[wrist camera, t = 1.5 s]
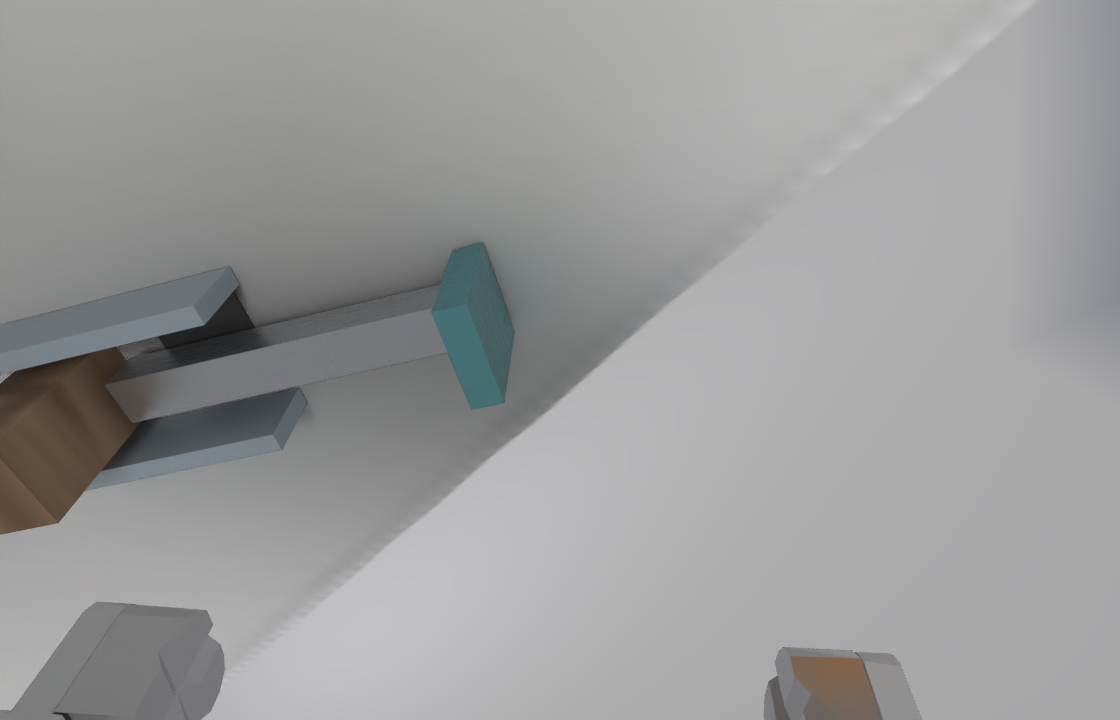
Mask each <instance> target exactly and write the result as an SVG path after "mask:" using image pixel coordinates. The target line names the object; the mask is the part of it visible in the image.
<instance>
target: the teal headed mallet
mask: <svg viewBox="0 0 1120 720" xmlns="http://www.w3.org/2000/svg"><path fill="white" fill-rule="evenodd" d="M513 338H514V329H513V326H512V323H511V321H510V318H509V315H508V312H507V309H506V306H505V304H504V301H503V298H502V295H501V292H500V289H499V287H498V284H497V281H496V278H495V275H494V273H493V270H492V267H491V264H490V261H489V258H488V256H487V253H486V250H485V247H484V244H483V243H479V244H475V245H471V246H467V247H463V248H459V249H455V250H453V251H452V253H451V256H450V259H449V262H448V265H447V268H446V271H445V274H444V276H443V279H442V282H441V284H437V285H433V286H429V287H425V288H421V289H416V290H412V291H408V292H404V293H400V294H396V295H391V296H387V297H383V298H379V299H375V300H370V301H366V302H362V303H358V304H354V305H350V306H345V307H341V308H337V309H333V310H329V311H325V312H320V313H316V314H312V315H308V316H304V317H300V318H295V319H291V320H287V321H283V322H279V323H275V324H270V325H266V326H262V327H258V328H254V329H249V330H245V331H241V332H237V333H233V334H229V335H224V336H220V337H216V338H212V339H208V340H204V341H199V342H195V343H191V344H187V345H183V346H179V347H174V348H170V349H166V350H162V351H158V352H154V353H149V354H145V355H141V356H137V357H133V358H129V360H128V361H127V362H126V363H125V364H124V365H123V366H122V367H121V368H120V369H119V370H118V371H117V372H116V373H115V374H114V375H113V376H112V377H111V378H110V379H109V380H108V381H107V383H106V384H105V385H104V386H105V387H106V388H107V390H108V391H109V392H110V394H111V395H112V396H113V398H114V399H115V400H116V402H117V403H118V404H119V406H120V407H121V408H122V410H123V411H124V412H125V414H126V415H127V416H128V418H129V419H130V420H131V422H132V423H134V422H139V421H143V420H148V419H152V418H157V417H161V416H166V415H170V414H175V413H179V412H184V411H188V410H193V409H197V408H202V407H206V406H210V405H215V404H219V403H224V402H228V401H233V400H237V399H242V398H246V397H251V396H255V395H260V394H264V393H269V392H273V391H278V390H282V389H287V388H291V387H296V386H300V385H305V384H309V383H314V382H318V381H323V380H327V379H332V378H336V377H340V376H345V375H349V374H354V373H358V372H363V371H367V370H372V369H376V368H381V367H385V366H390V365H394V364H399V363H403V362H408V361H412V360H417V359H421V358H426V357H430V356H435V355H439V354H444V353H448V355H449V357H450V360H451V362H452V364H453V367H454V369H455V371H456V374H457V376H458V379H459V381H460V383H461V386H462V388H463V390H464V393H465V395H466V398H467V400H468V402H469V405H470V407H471V410H472V409H477V408H482V407H487V406H492V405H496V404H501V403H504V401H505V394H506V387H507V380H508V373H509V366H510V359H511V352H512V345H513Z"/></svg>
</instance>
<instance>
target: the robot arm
mask: <svg viewBox="0 0 1120 720" xmlns="http://www.w3.org/2000/svg"><path fill="white" fill-rule="evenodd" d="M212 626H213V623H212V621H211V619H210V617H209V614H208V612H207V610H197V609H184V608H171V607H159V606H146V605H136V604H125V603H109V602H96V603H94V604H93V605H92V606H90V607H89V608H88V609H86V610H85V611H84V612H83V613H82V614H81V616H80V617H79V618H78V620H77V621H76V623H75V624H74V625H73V627H72V628H71V629H70V631H69V632H68V634H67V635H66V636H65V638H64V639H63V640H62V642H61V643H60V645H59V646H58V647H57V649H56V650H55V651H54V653H53V654H52V656H51V657H50V658H49V660H48V661H47V663H46V664H45V665H44V667H43V668H42V669H41V671H40V672H39V674H38V675H37V676H36V678H35V679H34V680H33V682H32V683H31V685H30V686H29V687H28V689H27V690H26V691H25V693H24V694H23V696H22V697H21V698H20V700H19V701H18V702H17V704H16V705H15V707H14V708H13V709H12V711H7V710H0V720H201V719H202V718H203V717H204V716H206V715H207V714H208V713H209V712H210V711H211V709H212V707H213V705H214V703H215V701H216V698H217V696H218V694H219V692H220V688H221V684H222V679H223V675H224V671H225V667H224V654H223V651H222V648H221V645H220V644H219V643H218V642H216V641H215V640H214V639H212V638H211V637H210V636H209V635H208V634H209V632H210V630H211V628H212ZM775 665H776V670H777V674H778V676H776V677H775V678H773V679H771V680H770V681H769V682H768V686H767V690H766V693H765V700H764V720H922V718H921V716H920V713H919V710H918V708H917V705H916V703H915V700H914V698H913V695H912V692H911V690H910V688H909V685H908V682H907V680H906V677H905V674H904V672H903V669H902V667H901V664H900V662H899V661H898V660H897V659H896V657H895V656H894V655H891V654H888V653H867V652H866V653H865V652H853V651H852V650H831V649H810V648H790V647H783V648H782V649H781V650H779V652H778V655H777V658H776V660H775Z"/></svg>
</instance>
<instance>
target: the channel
mask: <svg viewBox="0 0 1120 720" xmlns="http://www.w3.org/2000/svg"><path fill="white" fill-rule="evenodd" d="M238 285H239V282H238V280H237V278H236V277H235V275H234V273H233V271H232V270H231V268H230V266H228V267H225V268H221V269H217V270H213V271H209V272H205V273H201V274H197V275H193V276H189V277H186V278H182V279H178V280H174V281H170V282H166V283H162V284H158V285H154V286H150V287H147V288H143V289H139V290H135V291H131V292H127V293H123V294H119V295H115V296H111V297H108V298H104V299H100V300H96V301H92V302H88V303H84V304H80V305H76V306H73V307H69V308H65V309H61V310H57V311H53V312H49V313H45V314H41V315H37V316H34V317H30V318H26V319H22V320H18V321H14V322H10V323H6V324H2V325H0V375H1V374H5V373H9V372H13V371H17V370H21V369H25V368H29V367H34V366H38V365H42V364H46V363H50V362H54V361H58V360H62V359H66V358H71V357H75V356H79V355H83V354H87V353H91V352H95V351H99V350H103V349H108V348H112V347H116V346H120V345H124V344H128V343H132V342H136V341H140V340H144V339H149V338H153V337H157V336H158V337H159V339H160V340H161V342H162V343H163V345H164V346H165V348H166V349H170V348H174V347H179V346H183V345H187V344H191V343H195V342H199V341H204V340H208V339H212V338H216V337H220V336H224V335H229V334H233V333H237V332H241V331H245V330H249V329H254V326H253V324H252V322H251V321H250V319H249V317H248V315H247V314H246V312H245V310H244V308H243V307H242V305H241V303H240V302H239V300H238V298H237V296H236V295H235V293H234V290H235V289H236V288H237V287H238ZM306 404H307V401H306V400H305V398H304V396H303V394H302V393H301V391H300V389H299V388H296V389H292V390H287V391H283V392H278V393H274V394H269V395H265V396H260V397H256V398H251V399H247V400H242V401H238V402H234V403H229V404H225V405H220V406H216V407H211V408H207V409H202V410H198V411H193V412H189V413H184V414H180V415H175V416H171V417H166V418H162V419H157V420H153V421H148V422H144V423H140V424H139V425H138V426H137V428H136V429H135V430H134V431H133V433H132V434H131V435H130V436H129V437H128V439H127V440H126V441H125V442H124V443H123V445H122V446H121V447H120V448H119V450H118V451H117V452H116V453H115V454H114V456H113V457H112V458H111V459H110V461H109V462H108V463H107V464H106V465H105V467H104V468H103V469H102V470H101V471H100V473H99V474H98V475H97V476H96V478H95V479H94V480H93V481H92V482H91V484H90V485H89V486H88V487H87V489H86V490H91V489H96V488H101V487H106V486H110V485H115V484H120V483H125V482H130V481H134V480H139V479H144V478H149V477H154V476H158V475H163V474H168V473H173V472H178V471H182V470H187V469H192V468H197V467H202V466H206V465H211V464H216V463H221V462H226V461H230V460H235V459H240V458H245V457H250V456H254V455H259V454H264V453H269V452H274V451H278V450H282V449H283V447H284V445H285V443H286V441H287V439H288V438H289V436H290V434H291V432H292V430H293V428H294V426H295V424H296V422H297V421H298V419H299V417H300V415H301V413H302V411H303V409H304V407H305V405H306ZM86 490H85V491H86Z"/></svg>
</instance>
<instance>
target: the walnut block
mask: <svg viewBox="0 0 1120 720" xmlns="http://www.w3.org/2000/svg"><path fill="white" fill-rule="evenodd" d="M126 362H127V361H126V360H125V358H124V357H123V355H122V354H121V353H120V351H119V350H118V348H117V347H112V348H108V349H103V350H99V351H95V352H91V353H87V354H83V355H79V356H75V357H71V358H66V359H62V360H58V361H54V362H50V363H46V364H42V365H38V366H34V367H29V368H25V369H21V370H17V371H15V372H14V373H12V374H11V375H10V376H9V377H8V378H6V379H5V380H4V381H3V382H2V383H1V384H0V535H1V534H6V533H11V532H16V531H21V530H26V529H31V528H36V527H41V526H46V525H51V524H55V523H59V521H60V520H61V519H62V518H63V517H64V515H65V514H66V513H67V512H68V510H69V509H70V508H71V507H72V506H73V504H74V503H75V502H76V501H77V500H78V498H79V497H80V496H81V495H82V493H83V492H84V491H85V490H86V489H87V487H88V486H89V485H90V484H91V482H92V481H93V480H94V479H95V478H96V476H97V475H98V474H99V473H100V471H101V470H102V469H103V468H104V467H105V465H106V464H107V463H108V462H109V461H110V459H111V458H112V457H113V456H114V454H115V453H116V452H117V451H118V450H119V448H120V447H121V446H122V445H123V443H124V442H125V441H126V440H127V439H128V437H129V436H130V435H131V434H132V433H133V431H134V430H135V429H136V428H137V426H138V425H139V424H140V423H141V422H142V421H139V422H134V423H132V422H131V420H130V419H129V418H128V416H127V415H126V414H125V412H124V411H123V410H122V408H121V407H120V406H119V404H118V403H117V402H116V400H115V399H114V398H113V396H112V395H111V394H110V392H109V391H108V390H107V388H106V387H105V386H104V385H105V384H106V383H107V381H108V380H109V379H110V378H111V377H112V376H113V375H114V374H115V373H116V372H117V371H118V370H119V369H120V368H121V367H122V366H123V365H124V364H125V363H126Z"/></svg>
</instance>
